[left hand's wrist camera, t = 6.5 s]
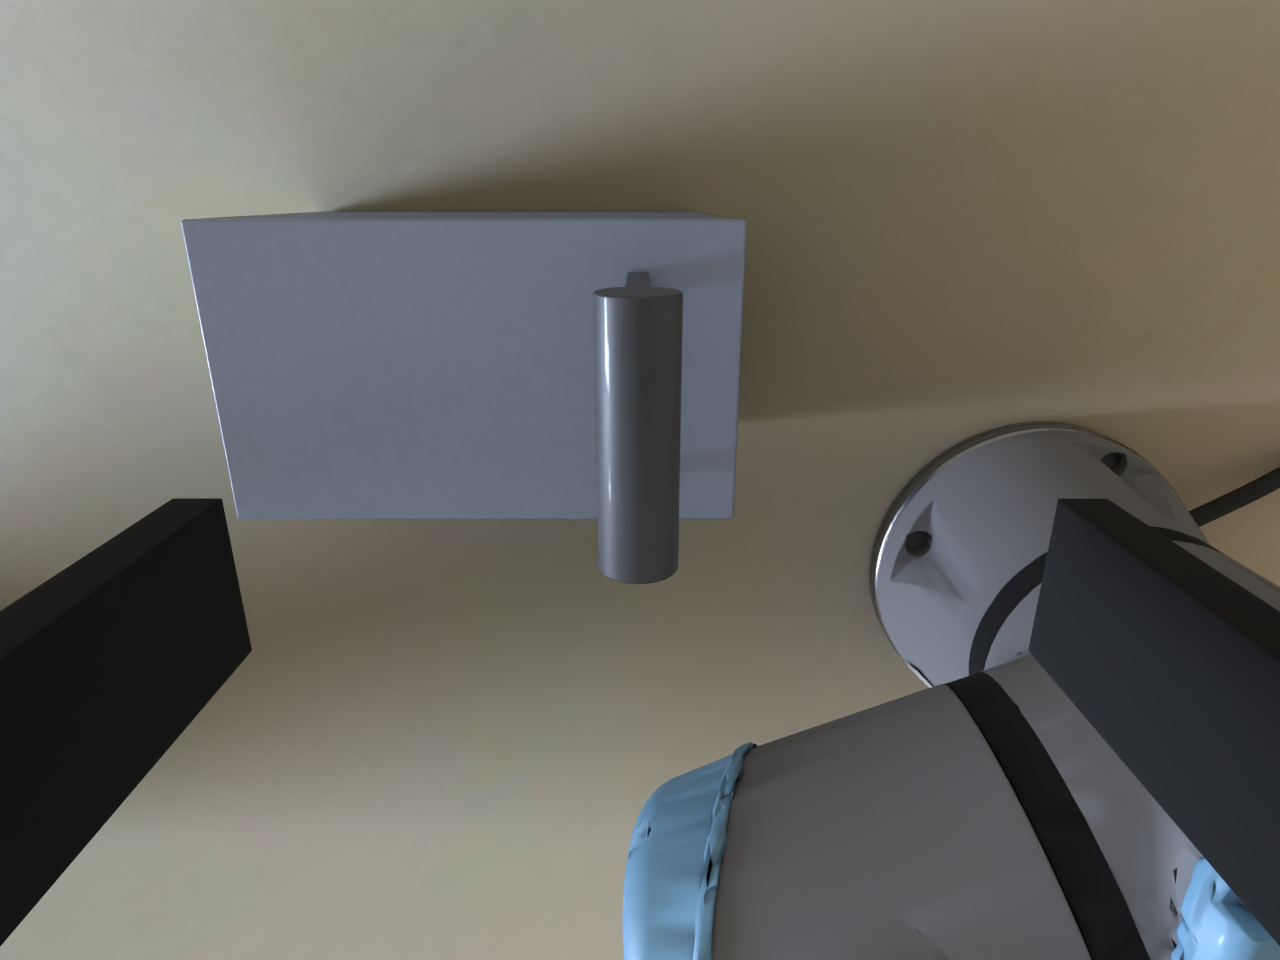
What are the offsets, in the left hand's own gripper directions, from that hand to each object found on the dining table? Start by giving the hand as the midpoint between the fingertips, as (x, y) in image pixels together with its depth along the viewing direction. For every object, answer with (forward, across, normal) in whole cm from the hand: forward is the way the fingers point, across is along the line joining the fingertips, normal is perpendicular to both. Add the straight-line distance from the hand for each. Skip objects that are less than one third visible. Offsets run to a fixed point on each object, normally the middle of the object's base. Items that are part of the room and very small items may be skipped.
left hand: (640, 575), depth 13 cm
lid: (+15, -5, 0) cm, 16 cm away
